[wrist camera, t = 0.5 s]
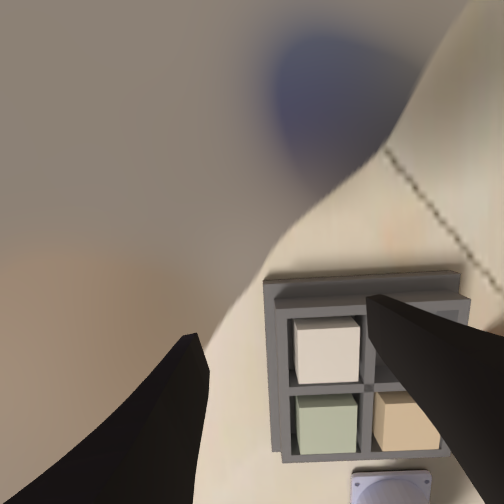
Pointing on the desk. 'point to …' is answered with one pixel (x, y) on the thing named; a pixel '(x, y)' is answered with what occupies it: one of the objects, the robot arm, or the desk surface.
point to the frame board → (369, 359)
